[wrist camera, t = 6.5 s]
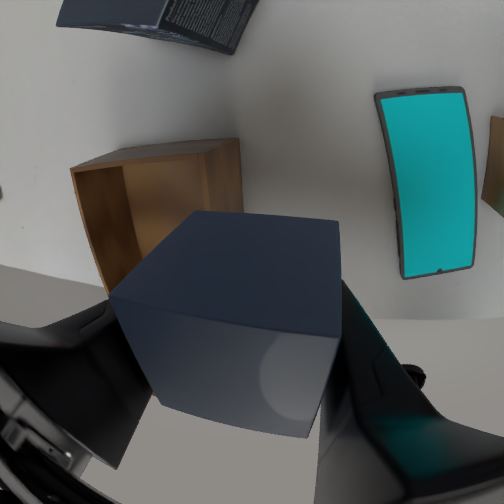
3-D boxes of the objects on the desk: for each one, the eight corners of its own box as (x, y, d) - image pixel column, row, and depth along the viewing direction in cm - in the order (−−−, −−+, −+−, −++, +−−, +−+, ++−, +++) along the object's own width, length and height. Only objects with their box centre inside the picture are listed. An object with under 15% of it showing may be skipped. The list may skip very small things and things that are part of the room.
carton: (248, 279, 26) (226, 326, 21) (143, 266, 29) (110, 301, 24) (238, 137, 20) (204, 152, 14) (118, 149, 23) (69, 168, 17)
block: (338, 220, 8) (341, 336, 4) (322, 330, 10) (307, 439, 6) (194, 209, 9) (106, 295, 5) (209, 314, 11) (161, 405, 7)
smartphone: (463, 86, 12) (473, 267, 18) (459, 86, 13) (470, 262, 19) (373, 93, 15) (400, 280, 21) (371, 93, 16) (398, 275, 22)
